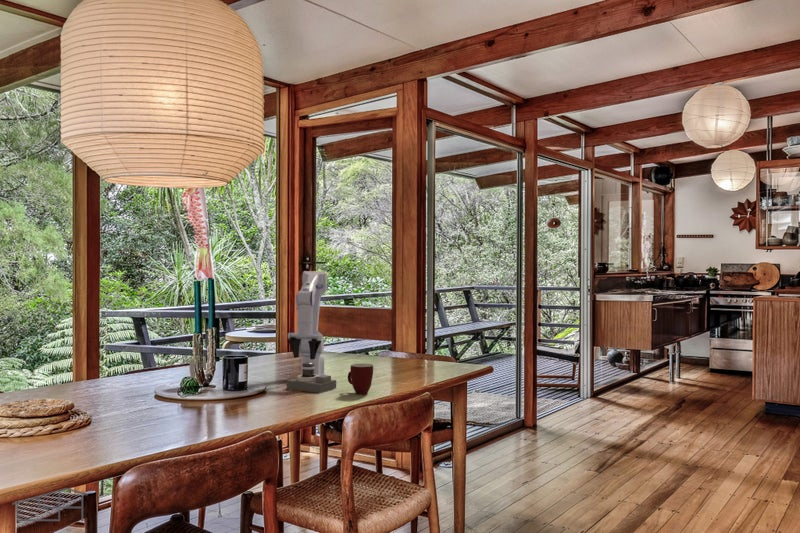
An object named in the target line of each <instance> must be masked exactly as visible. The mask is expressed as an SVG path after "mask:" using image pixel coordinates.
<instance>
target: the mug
mask: <svg viewBox="0 0 800 533" xmlns="http://www.w3.org/2000/svg"><path fill="white" fill-rule="evenodd" d="M373 376H374V365H373V364H372V363H353V364H351V365H350V371H349V372H348V374H347V381H348V383H349V384H350V385H351V386H352V389H353V390H354V392H355V394H356V395H367V394H368V392H369V391H370V389H371V387H372V383H373V382H372V381H373Z"/></svg>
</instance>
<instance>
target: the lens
mask: <svg viewBox="0 0 800 533" xmlns="http://www.w3.org/2000/svg"><path fill="white" fill-rule="evenodd" d="M314 369H315V366H314V363H310V362H307V363H302V362H301V375H302V377H314Z"/></svg>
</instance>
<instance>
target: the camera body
mask: <svg viewBox="0 0 800 533" xmlns="http://www.w3.org/2000/svg"><path fill="white" fill-rule="evenodd" d="M297 376H298V377H296V378H291V379H287V380H286V390H293V391H294V390H295V391H300V392H301V391H302V392H310V393H316V394H317V393H318V394H323V393H325V392H326V393H327V392H328V391H332V390H335V388H336V389H337V379H332V375H327V374H326V375H320V376H319V375H315V374H314V377H302V374H299V375H297Z"/></svg>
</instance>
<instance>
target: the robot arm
mask: <svg viewBox="0 0 800 533" xmlns="http://www.w3.org/2000/svg"><path fill="white" fill-rule="evenodd" d="M301 278H302V279H301V281H302V282H301V283H302V286H301V288H300V290H299V291H298V292H296V294H295V304H296V311H297V313H296V314H297V316H296V322H297V323H296V329H297V330H296V332H288V333H287V342H288V343H289V347H291V348H290V349H291V352H292V355H293V358H294V359H296V358H299V357H300V356H301V364H302V363H307V362H310V363H314V366H315V369H314V374H315V375H319V376H320V375H327V374H325V359H324V358H325V357H324V356H323V355H322V354H323V353H324V348H325V347H324V346H325V344H324V341H325V340H324V336H323V334H322V333H321V332H319V320H320V318H319V317H320V309H321V299H322V297H323V296H322V295H324V294H325V293H326V291H327V289H328V286H327V285H328V272H327V271H326V270H324V271H323V270H321V271H319V270H313V271H309V270H308V271H307V270H304V271H302V277H301ZM296 378H298V375H297V376H296Z"/></svg>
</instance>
